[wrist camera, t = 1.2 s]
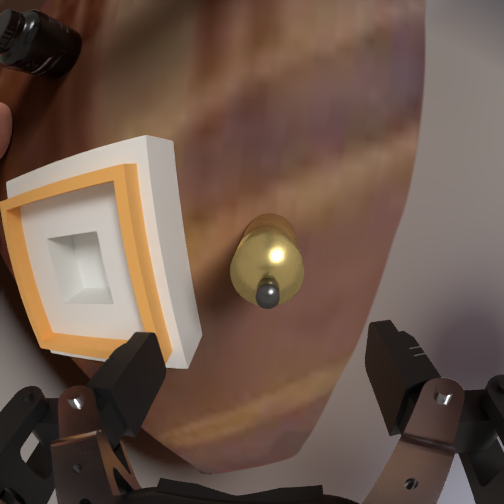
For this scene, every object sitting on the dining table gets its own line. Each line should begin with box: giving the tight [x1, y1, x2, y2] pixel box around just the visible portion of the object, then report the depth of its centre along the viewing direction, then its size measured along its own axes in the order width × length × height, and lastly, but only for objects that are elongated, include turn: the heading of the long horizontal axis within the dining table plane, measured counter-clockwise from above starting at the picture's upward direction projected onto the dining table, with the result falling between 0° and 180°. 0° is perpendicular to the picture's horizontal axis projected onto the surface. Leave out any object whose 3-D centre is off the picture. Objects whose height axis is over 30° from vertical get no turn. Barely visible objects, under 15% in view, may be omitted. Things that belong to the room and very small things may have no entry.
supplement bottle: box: [0, 9, 82, 79], centre depth 16 cm, size 7×7×12 cm
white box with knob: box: [0, 135, 202, 369], centre depth 25 cm, size 23×18×8 cm
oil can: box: [230, 214, 304, 309], centre depth 21 cm, size 5×5×10 cm
